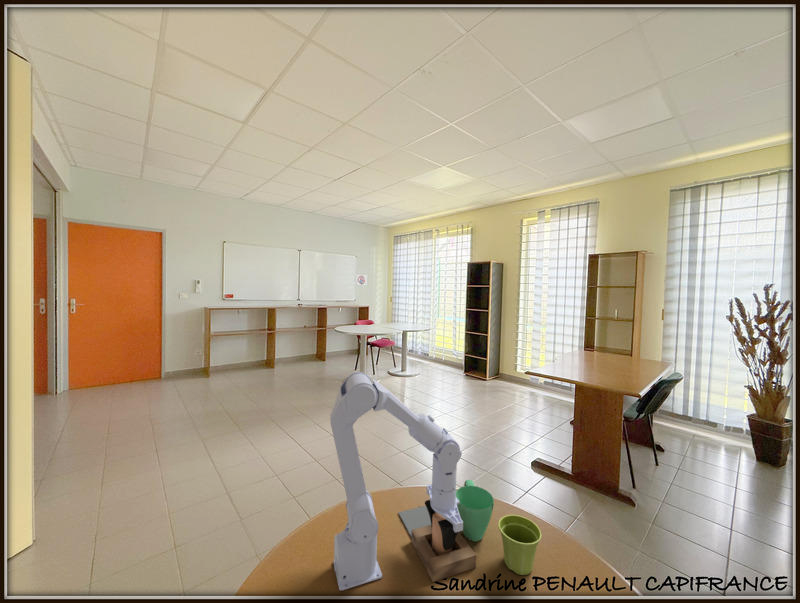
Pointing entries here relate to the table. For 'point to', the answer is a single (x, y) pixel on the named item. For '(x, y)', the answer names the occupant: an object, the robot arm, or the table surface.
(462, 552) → the holder
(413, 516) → the mat
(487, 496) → the mug
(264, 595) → the table surface
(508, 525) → the plant pot
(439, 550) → the peach rounded cylinder
